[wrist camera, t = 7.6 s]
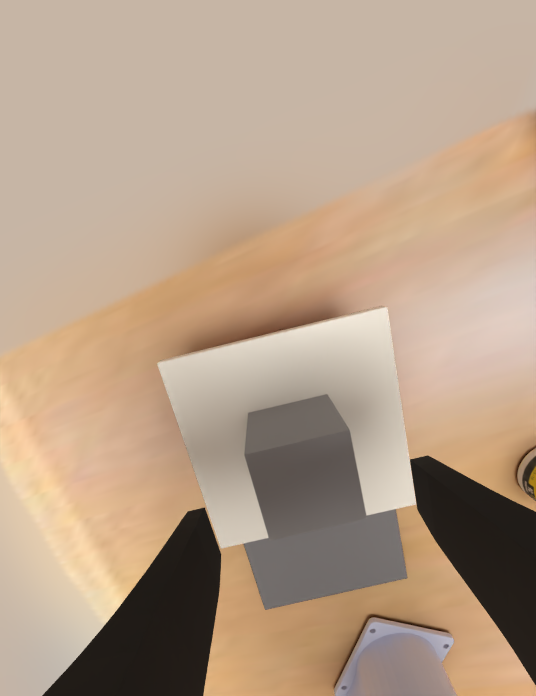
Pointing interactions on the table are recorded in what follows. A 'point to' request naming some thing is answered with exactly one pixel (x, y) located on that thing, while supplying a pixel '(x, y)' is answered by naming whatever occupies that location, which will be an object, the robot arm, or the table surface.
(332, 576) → the mat
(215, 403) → the lid
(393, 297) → the table surface
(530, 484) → the supplement bottle
